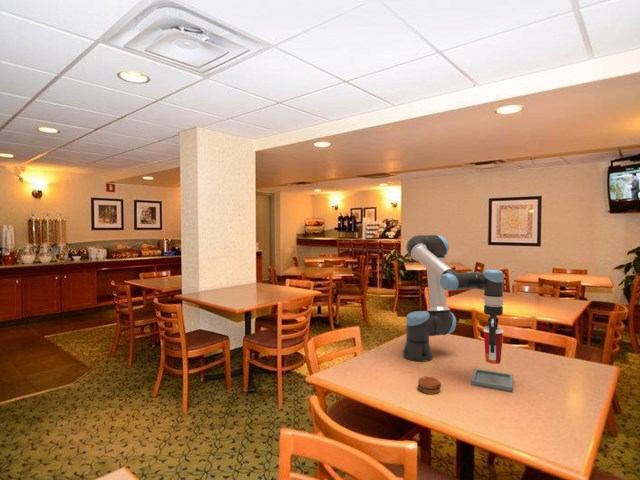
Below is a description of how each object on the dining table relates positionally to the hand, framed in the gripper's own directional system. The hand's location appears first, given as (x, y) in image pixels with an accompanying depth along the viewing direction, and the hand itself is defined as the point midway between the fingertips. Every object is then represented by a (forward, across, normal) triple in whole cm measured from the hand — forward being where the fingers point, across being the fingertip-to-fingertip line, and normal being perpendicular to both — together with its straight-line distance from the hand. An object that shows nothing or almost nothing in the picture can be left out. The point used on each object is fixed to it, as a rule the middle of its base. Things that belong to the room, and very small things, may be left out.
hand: (492, 357), depth 168 cm
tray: (+11, 0, 0) cm, 11 cm away
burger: (+12, +21, -24) cm, 33 cm away
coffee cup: (+2, 0, 0) cm, 2 cm away
